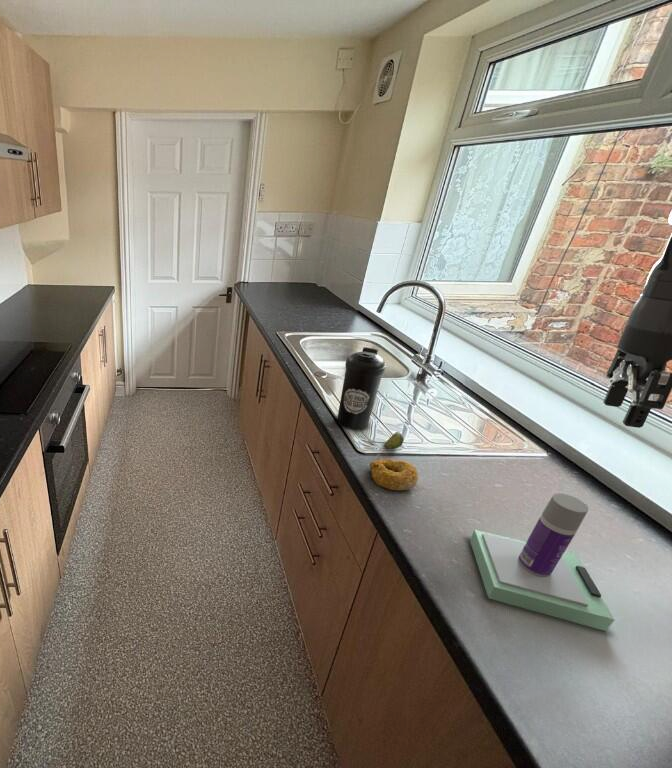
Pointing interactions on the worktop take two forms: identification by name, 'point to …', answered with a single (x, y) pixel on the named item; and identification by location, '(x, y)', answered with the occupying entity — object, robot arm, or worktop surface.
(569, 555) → the scale
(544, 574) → the container
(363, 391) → the water bottle
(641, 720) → the worktop surface
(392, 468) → the bagel
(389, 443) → the lime
